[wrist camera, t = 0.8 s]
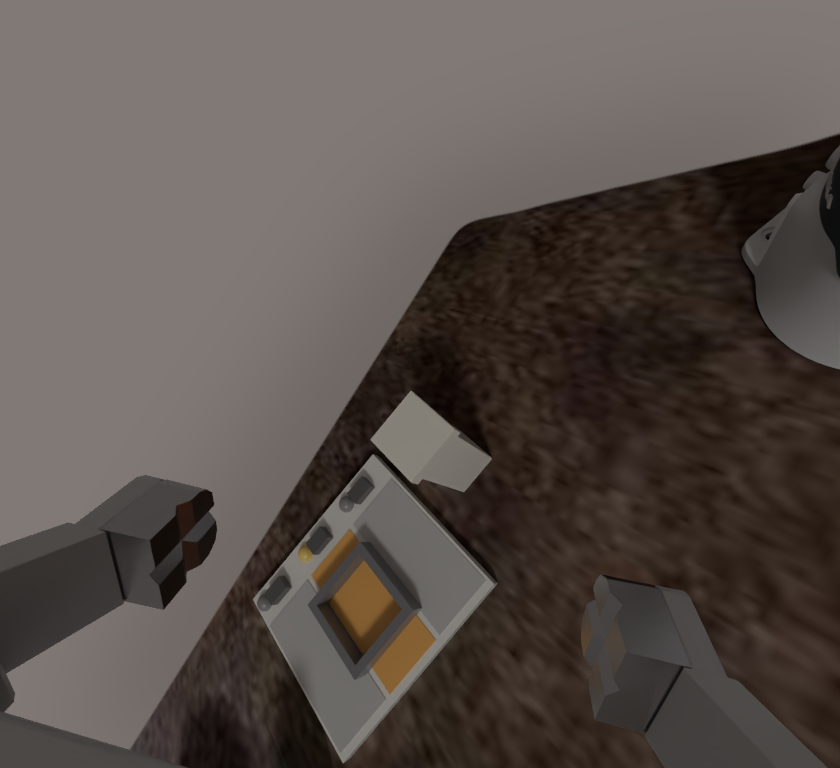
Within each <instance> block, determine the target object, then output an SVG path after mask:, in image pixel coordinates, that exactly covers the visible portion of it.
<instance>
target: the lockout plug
mask: <svg viewBox="0 0 840 768" xmlns="http://www.w3.org/2000/svg"><path fill="white" fill-rule="evenodd" d="M371 441H372V442H373V443H374V444H375V445H376V446H377V447H378V448H379V449H380V450H381V451H382V452H383V454H384V455H385V456H386V457H387V458H388V459H389V460H390V461H391V462H392V463H393V464H394V465H395V466H396V467H397V468H398V469H399V470H400V471H401V472H402V473H403V475H404V476H405V477H406V478H407V479H408V480H409V481H410V482H411V483H415V484H419V482H420V481H421V480H422V479H425V480H428V481H431V482H434V483H437V484H440V485H444V486H447V487H450V488H453V489H456V490H459V491H462V492H465V490H466V489H467V488H468V487H469V486H470V484H471V483H472V482H473V481H474V480H475V479H476V477H477V476H478V475H479V474H480V473H481V471H482V470H483V469H484V468H485V467H486V465H487V464H488V463H489V462H490V461H491V459H492V458H491V457H490V456H489V455H488V454H487V453H486V452H484V451H483V450H482V449H481V448H480V447H479V446H477V445H476V444H475V443H474V442H473V441H472V440H471V439H469V438H468V437H467V436H466V435H465V434H464V433H463V432H461V431H460V430H458V429H457V428H456V427H454V426H453V425H451V424H450V423H449V422H447V421H446V420H445V419H444V418H443V417H442V416H441V415H439V414H438V413H437V412H436V411H435V410H434V409H433V408H431V407H430V406H429V405H428V404H427V403H426V402H425V401H423V400H422V399H421V398H420V397H419V396H418V395H416V394H415V393H414V392H412V391H410V392H409V394H408V395H407V396H406V397H405V399H404V400H403V401H402V402H401V403H400V405H399V406H398V407H397V408H396V409H395V411H394V412H393V413H392V414H391V415H390V417H389V418H388V419H387V420H386V421H385V423H384V424H383V425H382V426H381V428H380V429H379V430H378V431H377V432H376V434H375V435H374V436H373V437H372V438H371Z"/></svg>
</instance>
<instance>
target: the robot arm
mask: <svg viewBox="0 0 840 768" xmlns="http://www.w3.org/2000/svg"><path fill="white" fill-rule="evenodd" d="M825 167H827V169H829V170H831V171H829V172H828V173H827V174H826V173H824V172H820V171H815V172H814V173H813V174H812V175H811V176H810V177H809V178H808V179H807V180H806V182H805V183H804V185H803V189H805V191H804V192H803V193H797V194H795V195H794V196H793V198H792V199H791V200H790V202H789V203H788V205H787V207H786V208H785V209H784V210H782V211H781V212H780V213H779V214H777V215H776V216H775V217H774V218H773V219H771V220H770V221H769V222H768V223H766V224H765V225H764V226H763V227H762V228H760V229H759V230H758V231H757V232H755V233H754V234H753V235H752V236H751V237H749V238H748V239H747V241H746V242H745V244H744V246H743V247H742V251H741V252H742V256H743V259H744V261H745V262H746V264H747V266H748V267H749V269H750V270H751V271H752V273H753V274H754V277H755V282H756V298H757V304H758V308H759V311H760V313H761V315H762V318H763V319H764V321H765V323H766V324H767V326H768V327H769V329H770V330H771V331H772V332H773V333H774V334H775V335H776V336H777V337H778V338H779V339H780V340H781V341H782V342H783V343H784V344H786V345H787V346H788V347H790V348H791V349H793V350H794V351H796V352H797V353H799V354H801V355H803V356H805V357H807V358H809V359H811V360H813V361H815V362H818V363H821V364H823V365H826V366H829V367H833V368H837V369H840V146H839V147H838V148H837V149H836V150H835V151H834V152H833V154H832V155H831V156H830V158H829V159H828V161H827V162H826V165H825ZM767 237H770V238H769V240H767V239H766V238H767ZM213 506H214V502H213V495H212V492H210V491H208V490H206V489H202V488H198V487H194V486H190V485H186V484H182V483H178V482H174V481H170V480H163V479H159V478H155V477H151V476H147V475H144V476H140V477H137V478H135V479H134V480H133V481H131V482H130V483H128V484H127V485H126V486H124V487H123V488H122V489H121V490H119V491H118V492H117V493H115V494H114V495H113V496H111V497H110V498H109V499H107V500H106V501H105V502H103V503H102V504H101V505H99V506H98V507H97V508H95V509H94V510H93V511H92V512H90V513H89V514H88V515H86V516H85V517H84V518H82V519H81V520H80V521H78V522H77V523H76V524H71V523H66V524H63V525H60V526H57V527H54V528H51V529H48V530H45V531H42V532H40V533H37V534H34V535H31V536H28V537H25V538H22V539H19V540H16V541H13V542H10V543H8V544H5V545H2V546H0V768H188V767H185V766H182V765H178V764H175V763H171V762H168V761H165V760H161V759H158V758H155V757H151V756H148V755H145V754H141V753H138V752H135V751H131V750H128V749H125V748H121V747H118V746H115V745H111V744H108V743H105V742H101V741H98V740H95V739H91V738H88V737H84V736H81V735H78V734H74V733H71V732H68V731H64V730H61V729H57V728H54V727H51V726H48V725H44V724H41V723H38V722H34V721H31V720H28V719H24V718H21V717H17V716H14V715H11V714H7V713H4V712H5V710H6V709H7V708H8V707H9V706H10V705H11V704H12V703H13V702H14V696H15V692H14V691H13V688H12V686H11V684H10V682H9V679H8V677H7V675H6V673H8V672H10V671H11V670H13V669H15V668H16V667H18V666H20V665H21V664H23V663H25V662H26V661H28V660H30V659H31V658H33V657H35V656H36V655H38V654H40V653H41V652H43V651H45V650H46V649H48V648H50V647H52V646H53V645H55V644H56V643H58V642H60V641H61V640H63V639H65V638H66V637H68V636H70V635H72V634H73V633H75V632H77V631H78V630H80V629H82V628H83V627H85V626H87V625H88V624H90V623H92V622H93V621H95V620H97V619H99V618H100V617H102V616H104V615H105V614H107V613H108V612H110V611H112V610H114V609H115V608H117V607H119V606H120V605H122V604H123V603H124V601H126V602H131V603H136V604H140V605H145V606H149V607H154V608H159V609H165V607H166V606H167V605H168V604H169V603H170V601H171V600H172V599H173V598H174V596H175V595H176V594H177V593H178V591H180V589H181V588H182V587H183V586H184V585H185V583H186V574H187V571H189V570H192V569H194V568H196V567H198V566H199V565H201V564H202V563H203V561H204V560H205V559H206V557H207V556H208V555H209V553H210V551H211V549H212V547H213V544H214V542H215V539H216V532H217V526H216V521H215V519H214V518H213V517H212V515H211V514H210V513H209V510H210V509H211V508H212V507H213ZM593 590H594V594H595V599H596V600H594V601H592V602H590V603H588V604H587V606H586V609H585V612H584V614H583V619H582V627H581V641H582V649H583V655H584V658H585V659H586V660H587V662H588V663H589V664H590V665H591V667H592V668H593V669H592V672H591V674H590V676H589V679H588V685H589V690H590V696H591V701H592V707H593V713H594V718H595V720H599V721H602V722H606V723H609V724H613V725H616V726H620V727H623V728H627V729H630V730H634V731H637V732H641V733H644V734H645V738H646V739H647V741H648V742H649V744H650V746H651V747H652V749H653V750H654V752H655V753H656V755H657V756H658V758H659V759H660V761H661V762H662V764H663V766H664V767H665V768H827V767H826V766H825V765H824V764H823V763H822V762H821V761H820V760H819V759H818V758H817V757H816V756H815V755H814V754H813V753H812V752H811V751H810V750H809V749H807V748H806V747H805V746H804V745H803V744H802V743H801V742H800V741H799V740H798V739H797V738H796V737H795V736H794V735H793V734H792V733H791V732H790V731H789V730H788V729H787V728H786V727H785V726H784V725H783V724H782V723H781V722H780V721H779V720H778V719H777V718H776V717H775V716H773V715H772V714H771V713H770V712H769V711H768V710H767V709H766V708H765V707H764V706H763V705H762V704H761V703H760V702H759V701H758V700H757V699H756V698H755V697H754V696H753V695H752V694H751V693H750V692H749V691H748V690H747V689H746V688H745V687H744V686H743V685H742V684H741V683H740V682H738V681H737V680H734V679H731V678H728V677H727V675H726V673H725V671H724V669H723V667H722V665H721V663H720V660H719V658H718V656H717V654H716V652H715V650H714V648H713V645H712V643H711V641H710V639H709V637H708V635H707V633H706V631H705V628H704V626H703V624H702V622H701V620H700V618H699V616H698V614H697V611H696V609H695V607H694V605H693V603H692V601H691V599H690V597H689V596H688V595H687V594H686V593H685V592H684V591H681V590H676V589H671V588H666V587H661V586H653V585H650V584H645V583H640V582H636V581H631V580H626V579H621V578H616V577H611V576H607V575H602V574H601V575H600V576H599V577H598V578H597V580H596V582H595V585H594V587H593Z"/></svg>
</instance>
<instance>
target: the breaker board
mask: <svg viewBox="0 0 840 768" xmlns="http://www.w3.org/2000/svg"><path fill="white" fill-rule="evenodd" d="M496 585H497V582H496V581H495V580H494V579H493V578H492V577H491V576H490V574H489V573H488V572H487V571H486V570H485V569H484V568H483V567H482V566H481V565H480V564H479V563H478V562H477V561H476V560H475V558H474V557H473V556H472V555H471V554H470V553H469V552H468V551H467V550H466V549H465V548H464V547H463V546H462V545H461V544H460V542H459V541H458V540H457V539H456V538H455V537H454V536H453V535H452V534H451V533H450V532H449V531H448V530H447V529H446V528H445V526H444V525H443V524H442V523H441V522H440V521H439V520H438V519H437V518H436V517H435V516H434V515H433V514H432V513H431V512H430V511H429V509H428V508H427V507H426V506H425V505H424V504H423V503H422V502H421V501H420V500H419V499H418V498H417V497H416V496H415V495H414V493H413V492H412V491H411V490H410V489H409V488H408V487H407V486H406V485H405V484H404V483H403V482H402V481H401V480H400V479H399V477H398V476H397V475H396V474H395V473H394V472H393V471H392V470H391V469H390V468H389V467H388V466H387V465H386V464H385V463H384V461H383V460H382V459H381V458H380V457H379V456H377V455H374V454H373V455H372V456H371V457H370V458H369V460H368V461H367V462H366V463H365V464H364V466H363V467H362V468H361V469H360V471H359V472H358V473H357V474H356V475H355V477H354V478H353V479H352V480H351V481H350V483H349V484H348V485H347V486H346V487H345V489H344V490H343V491H342V492H341V493H340V495H339V496H338V497H337V498H336V500H335V501H334V502H333V503H332V504H331V506H330V507H329V508H328V509H327V510H326V512H325V513H324V514H323V515H322V516H321V518H320V519H319V520H318V521H317V522H316V524H315V525H314V526H313V527H312V529H311V530H310V531H309V532H308V533H307V535H306V536H305V537H304V538H303V539H302V541H301V542H300V543H299V544H298V545H297V547H296V548H295V549H294V550H293V551H292V553H291V554H290V555H289V556H288V558H287V559H286V560H285V561H284V562H283V564H282V565H281V566H280V567H279V568H278V570H277V571H276V572H275V573H274V574H273V576H272V577H271V578H270V579H269V580H268V582H267V583H266V584H265V585H264V587H263V588H262V589H261V590H260V591H259V593H258V594H257V595H256V596H255V597H254V599H253V601H254V602H255V604H256V606H257V608H258V610H259V612H260V613H261V615H262V617H263V619H264V621H265V622H266V624H267V626H268V628H269V630H270V632H271V633H272V635H273V637H274V639H275V641H276V642H277V644H278V646H279V648H280V650H281V652H282V653H283V655H284V657H285V659H286V661H287V662H288V664H289V666H290V668H291V670H292V671H293V673H294V675H295V677H296V679H297V681H298V682H299V684H300V686H301V688H302V690H303V691H304V693H305V695H306V697H307V699H308V701H309V702H310V704H311V706H312V708H313V710H314V711H315V713H316V715H317V717H318V719H319V721H320V722H321V724H322V726H323V728H324V730H325V731H326V733H327V735H328V737H329V739H330V741H331V742H332V744H333V746H334V748H335V750H336V751H337V753H338V755H339V757H340V759H341V761H342V762H343V763H344V762H346V761H347V760H348V759H350V758H351V757H352V756H353V754H354V753H355V752H356V751H357V750H358V748H359V747H360V746H361V745H362V744H363V742H364V741H365V740H366V739H367V738H368V737H369V735H370V734H371V733H372V732H373V731H374V729H375V728H376V727H377V726H378V725H379V723H380V722H381V721H382V720H383V719H384V718H385V716H386V715H387V714H388V713H389V712H390V710H391V709H392V708H393V707H394V706H395V704H396V703H397V702H398V701H399V700H400V699H401V697H402V696H403V695H404V694H405V693H406V691H407V690H408V689H409V688H410V687H411V685H412V684H413V683H414V682H415V681H416V680H417V678H418V677H419V676H420V675H421V674H422V672H423V671H424V670H425V669H426V668H427V666H428V665H429V664H430V663H431V662H432V661H433V659H434V658H435V657H436V656H437V655H438V653H439V652H440V651H441V650H442V649H443V647H444V646H445V645H446V644H447V643H448V642H449V640H450V639H451V638H452V637H453V636H454V634H455V633H456V632H457V631H458V630H459V628H460V627H461V626H462V625H463V624H464V623H465V621H466V620H467V619H468V618H469V617H470V615H471V614H472V613H473V612H474V611H475V609H476V608H477V607H478V606H479V605H480V604H481V602H482V601H483V600H484V599H485V598H486V596H487V595H488V594H489V593H490V592H491V590H492V589H493V588H494V587H495V586H496Z"/></svg>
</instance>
